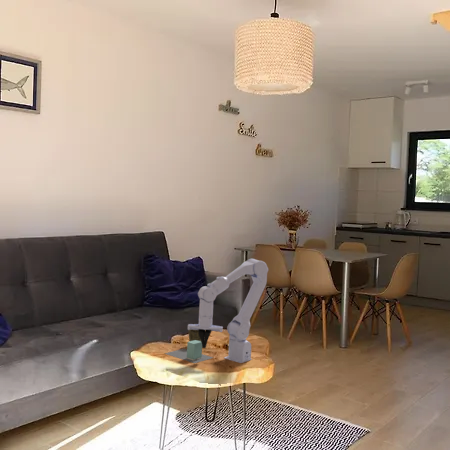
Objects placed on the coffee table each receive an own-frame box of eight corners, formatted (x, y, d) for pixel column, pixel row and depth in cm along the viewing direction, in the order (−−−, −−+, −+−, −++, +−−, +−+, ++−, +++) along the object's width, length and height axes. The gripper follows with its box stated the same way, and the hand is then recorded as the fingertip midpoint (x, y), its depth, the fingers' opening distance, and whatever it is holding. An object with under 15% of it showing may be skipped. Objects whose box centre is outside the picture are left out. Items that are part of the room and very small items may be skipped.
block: (201, 358, 232) (202, 341, 232) (193, 360, 228) (194, 343, 228) (194, 355, 235) (195, 339, 234) (186, 358, 231) (187, 341, 231)
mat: (213, 358, 234) (213, 357, 234) (194, 364, 225) (194, 363, 225) (183, 349, 245) (183, 348, 245) (164, 354, 236) (164, 353, 236)
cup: (204, 345, 253) (205, 328, 253) (202, 349, 246) (203, 332, 246) (189, 344, 254) (189, 327, 254) (186, 348, 247) (187, 331, 246)
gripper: (223, 314, 231) (222, 346, 231) (190, 312, 232) (188, 343, 232) (222, 318, 224) (220, 350, 224) (187, 315, 225) (185, 348, 225)
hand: (204, 347), depth 228 cm, fingers closed
